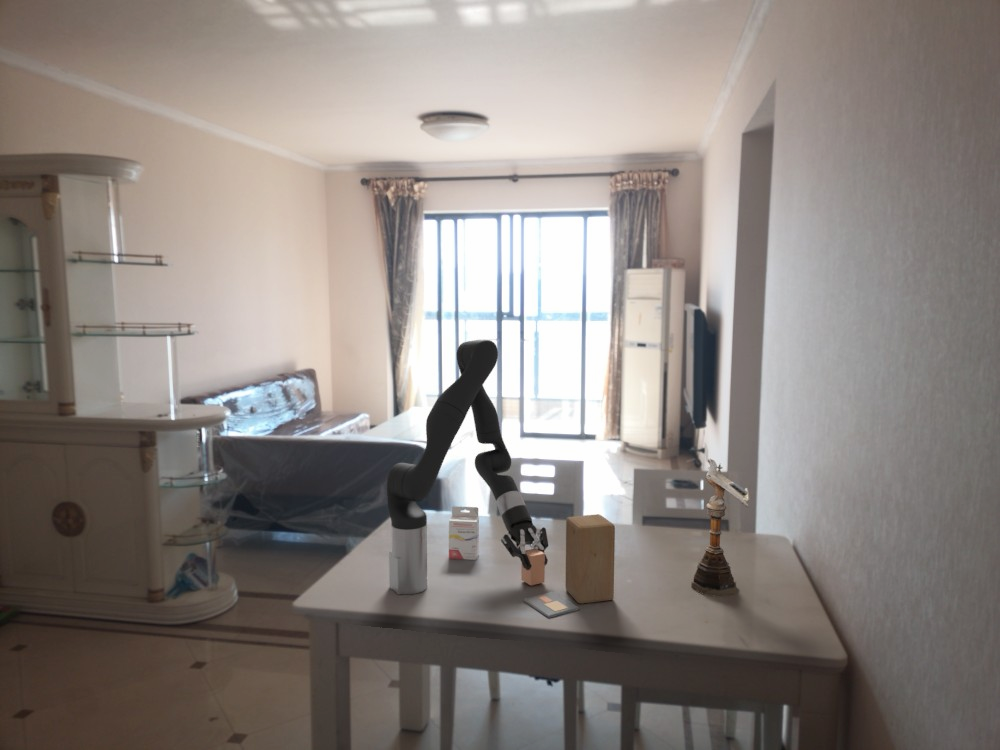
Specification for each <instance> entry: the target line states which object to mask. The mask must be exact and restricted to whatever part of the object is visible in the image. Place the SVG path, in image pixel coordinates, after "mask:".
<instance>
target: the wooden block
mask: <svg viewBox="0 0 1000 750" xmlns="http://www.w3.org/2000/svg"><path fill="white" fill-rule="evenodd" d="M615 532H616V528H615V524H614V523H612V522H611V521H610V520H609V519H607V518H605V516H602V515H601V514H586V515H575V516H568V517H566V521H565V590H566V591H567V592H568V593H569V595H570V596H571V597H572V598H573V599H574V600H575V602H577V603H578V604H589V603H596V602H597V603H598V602H606V601H612V600H614V596H615V595H614V594H615V592H614V591H615V588H614V587H615V552H616V551H615V548H616V547H615V546H616V545H615V543H616V541H615V540H616V538H615V537H616V533H615Z"/></svg>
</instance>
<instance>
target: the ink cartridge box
mask: <svg viewBox="0 0 1000 750" xmlns="http://www.w3.org/2000/svg"><path fill="white" fill-rule="evenodd" d="M463 511H469V512H463ZM479 536H480V517H479V508H478V507H477V506H456V505H455V506H451V517H450V519H449V520H448V559H453V560H454V559H455V560H469V561H470V560H471V561H472V560H474V561H477V560H478V558H479V557H478V556H479V552H480V551H479V549H480V547H479V545H480V544H479V542H480V541H479V540H480V537H479Z"/></svg>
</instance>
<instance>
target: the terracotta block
mask: <svg viewBox="0 0 1000 750" xmlns="http://www.w3.org/2000/svg"><path fill="white" fill-rule="evenodd" d="M525 554H527V556H528V559H529V561H530V564H531V566H532V567H531V568H530V569H529V570H526V568H524V567H523V565H522V564H521V575H520V576H521V579H520V580H521V581H523V582H524V583H526V584H527V585H529V586H535V585H538V584H543V583H545V580H546V579H545V573H546V570H545V569H546V566H545V555H546V553H543V552H541V551H540V550H538V549H536V548H535V549H533V548H531V549H525Z"/></svg>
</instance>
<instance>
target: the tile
mask: <svg viewBox="0 0 1000 750" xmlns="http://www.w3.org/2000/svg"><path fill="white" fill-rule="evenodd" d="M523 602H525V603H526V604H528V605H529V606H530V607H531V608H533V609H535V611H537V612H539V613H540V614H542V615H544V616H545V617H546V618H548V619H550V618H553V617H556V616H557V617H558V616H560V615H564V614H568V613H571V612H574V611H578V610H580V609H579V606H577V605H575V604H574V603H573V602H571V601H569V600H567V599H566V598H564V597H563V596H561V595H560V594H558V593H557V592H555V591H549V592H546V593H542V594H538V595H534V596H530V597H526V598H523Z"/></svg>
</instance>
